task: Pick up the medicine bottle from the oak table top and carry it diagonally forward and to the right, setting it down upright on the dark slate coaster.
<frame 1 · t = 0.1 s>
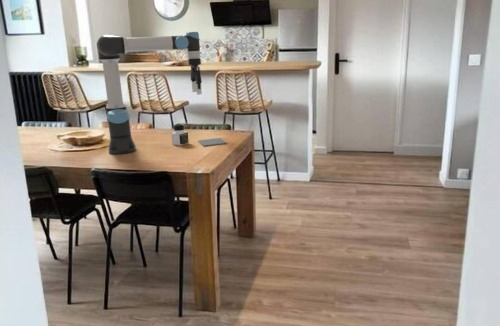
hand: (197, 93, 280), 28 cm above the table, tool pointing down, fingers open, 13 cm apart
medicine bottle: (180, 144, 272), on the table
slate coaster: (212, 142, 271), on the table
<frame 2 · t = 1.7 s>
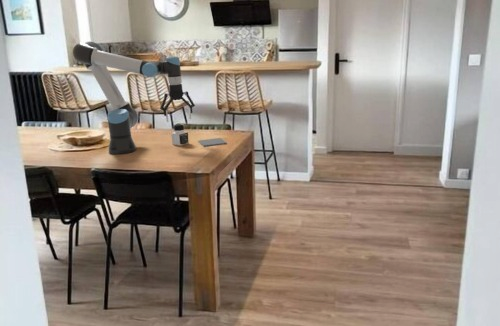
hand: (178, 120, 268), 14 cm above the table, tool pointing down, fingers open, 13 cm apart
nothing on the table moved.
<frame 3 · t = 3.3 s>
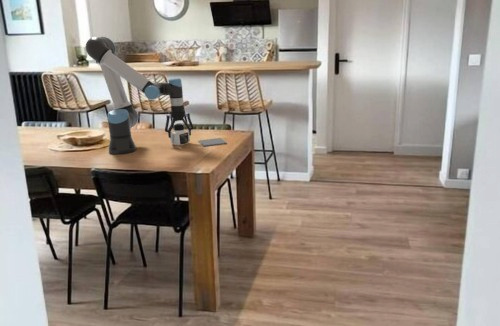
hand: (180, 141, 272), 1 cm above the table, tool pointing down, fingers closed on medicine bottle, 10 cm apart
medicine bottle: (180, 144, 272), on the table, touching gripper
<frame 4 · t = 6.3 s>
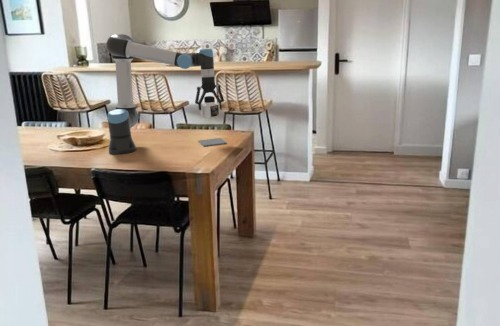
hand: (210, 114, 266), 17 cm above the table, tool pointing down, fingers closed on medicine bottle, 10 cm apart
medicine bottle: (210, 116, 267), point 16 cm above the table, touching gripper
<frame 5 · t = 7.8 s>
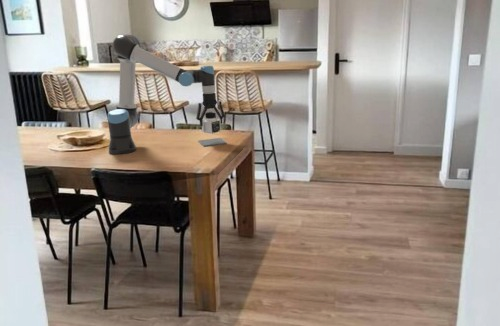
hand: (211, 130, 269), 8 cm above the table, tool pointing down, fingers closed on medicine bottle, 10 cm apart
medicine bottle: (211, 132, 269), point 6 cm above the table, touching gripper
when the fingers open (3 cm above the table, at t = 9.2 s): medicine bottle drops 1 cm, resting on slate coaster.
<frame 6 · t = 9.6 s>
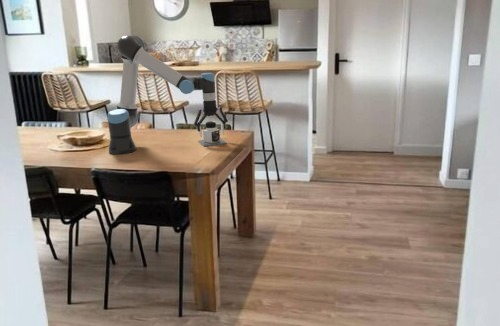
hand: (211, 135, 270), 5 cm above the table, tool pointing down, fingers open, 13 cm apart
medicine bottle: (211, 141, 271), point 1 cm above the table, touching slate coaster
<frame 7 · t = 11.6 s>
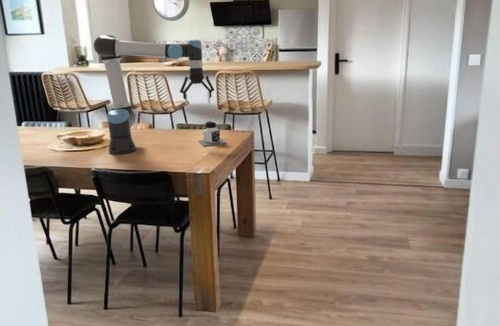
hand: (197, 103, 269), 23 cm above the table, tool pointing down, fingers open, 13 cm apart
nothing on the table moved.
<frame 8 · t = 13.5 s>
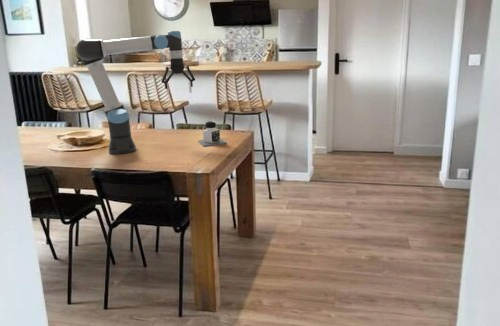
hand: (179, 93, 275), 29 cm above the table, tool pointing down, fingers open, 13 cm apart
nothing on the table moved.
at the end: medicine bottle inside the target area on the slate coaster (0.2 cm from its centre), point 0.6 cm above the slate coaster's base; medicine bottle tilted 0°; the gripper is holding nothing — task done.
